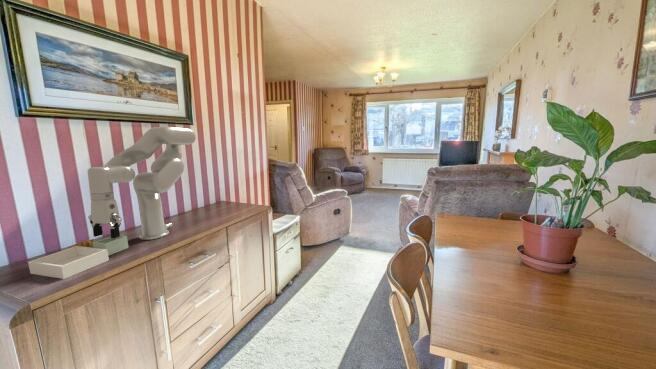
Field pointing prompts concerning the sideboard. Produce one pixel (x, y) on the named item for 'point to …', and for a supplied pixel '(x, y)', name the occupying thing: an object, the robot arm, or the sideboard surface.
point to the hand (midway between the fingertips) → (106, 236)
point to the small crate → (112, 244)
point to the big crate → (68, 262)
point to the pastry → (85, 244)
